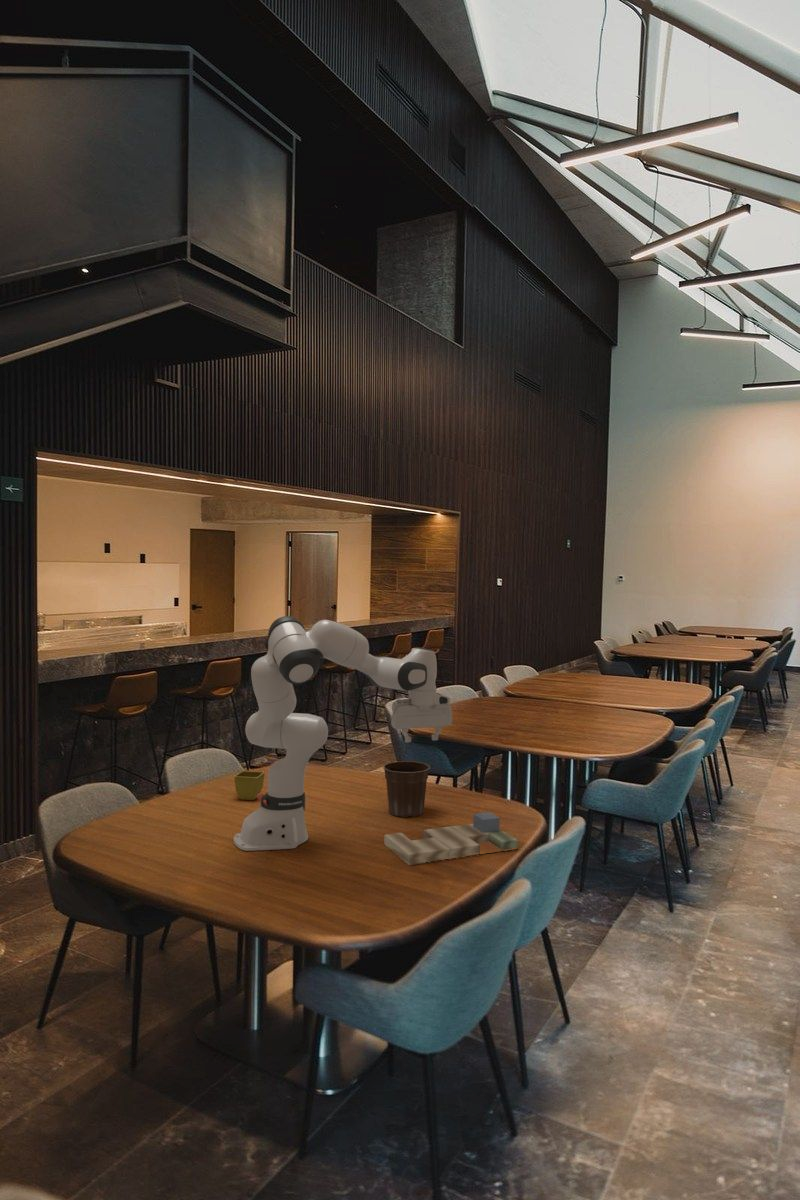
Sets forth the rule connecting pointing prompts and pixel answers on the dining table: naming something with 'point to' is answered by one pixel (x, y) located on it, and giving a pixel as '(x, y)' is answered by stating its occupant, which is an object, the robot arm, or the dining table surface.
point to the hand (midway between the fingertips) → (421, 741)
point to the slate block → (486, 822)
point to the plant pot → (406, 787)
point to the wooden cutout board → (446, 843)
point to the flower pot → (249, 784)
